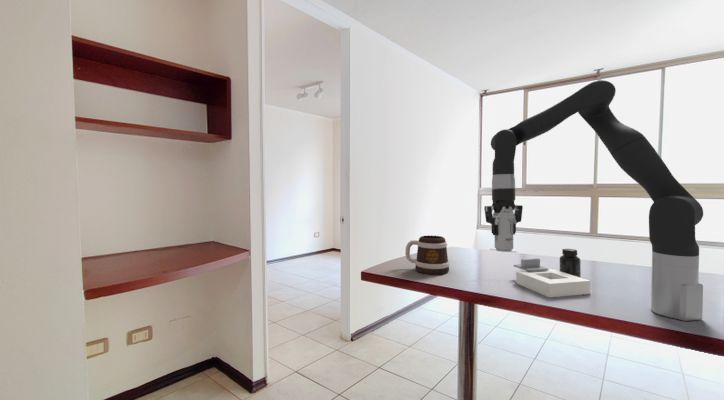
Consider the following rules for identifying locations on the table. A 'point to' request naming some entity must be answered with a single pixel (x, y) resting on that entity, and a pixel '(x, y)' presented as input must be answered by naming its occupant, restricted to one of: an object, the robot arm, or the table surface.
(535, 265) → the grey stepped block
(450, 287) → the table surface
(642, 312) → the table surface
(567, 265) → the supplement bottle
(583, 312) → the table surface
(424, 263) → the mug
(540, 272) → the socket plate
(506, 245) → the energy drink can
